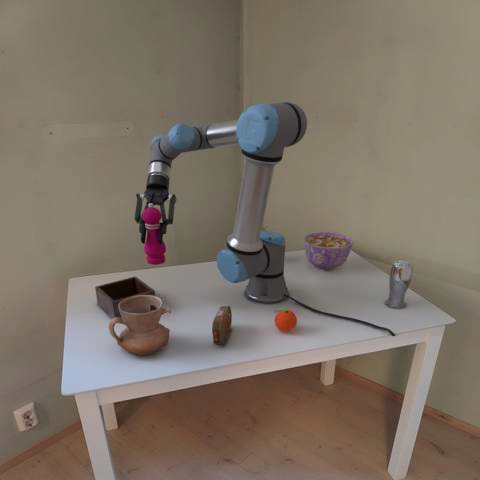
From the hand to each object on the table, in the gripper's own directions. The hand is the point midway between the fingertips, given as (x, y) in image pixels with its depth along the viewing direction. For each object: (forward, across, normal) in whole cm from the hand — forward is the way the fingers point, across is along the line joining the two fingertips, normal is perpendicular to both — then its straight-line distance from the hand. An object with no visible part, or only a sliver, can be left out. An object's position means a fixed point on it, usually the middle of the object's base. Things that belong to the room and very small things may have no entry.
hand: (151, 242), depth 148 cm
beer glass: (+12, -83, -19) cm, 86 cm away
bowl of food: (-11, -62, -43) cm, 77 cm away
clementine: (+27, -44, -5) cm, 52 cm away
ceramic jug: (+36, -2, +4) cm, 36 cm away
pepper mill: (+3, 0, -9) cm, 9 cm away
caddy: (+18, +10, -13) cm, 25 cm away
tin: (+31, -25, -1) cm, 40 cm away
